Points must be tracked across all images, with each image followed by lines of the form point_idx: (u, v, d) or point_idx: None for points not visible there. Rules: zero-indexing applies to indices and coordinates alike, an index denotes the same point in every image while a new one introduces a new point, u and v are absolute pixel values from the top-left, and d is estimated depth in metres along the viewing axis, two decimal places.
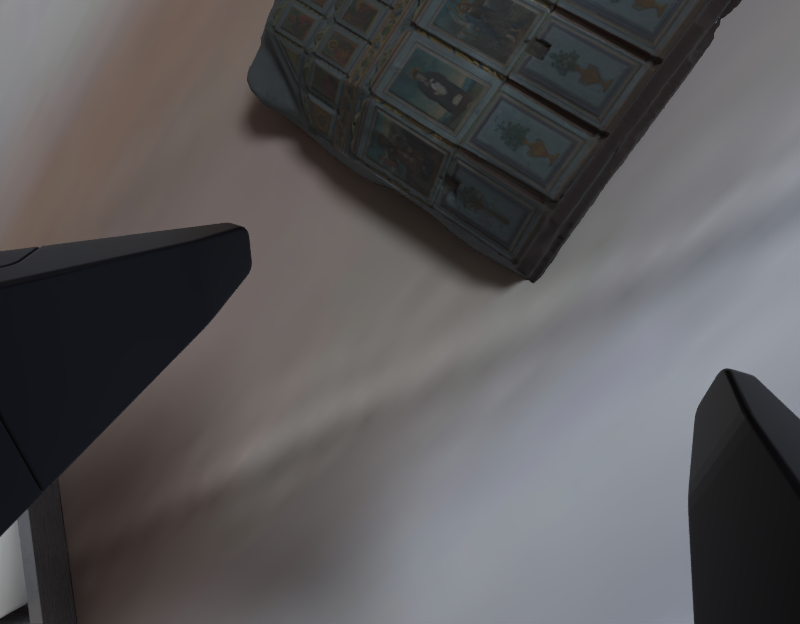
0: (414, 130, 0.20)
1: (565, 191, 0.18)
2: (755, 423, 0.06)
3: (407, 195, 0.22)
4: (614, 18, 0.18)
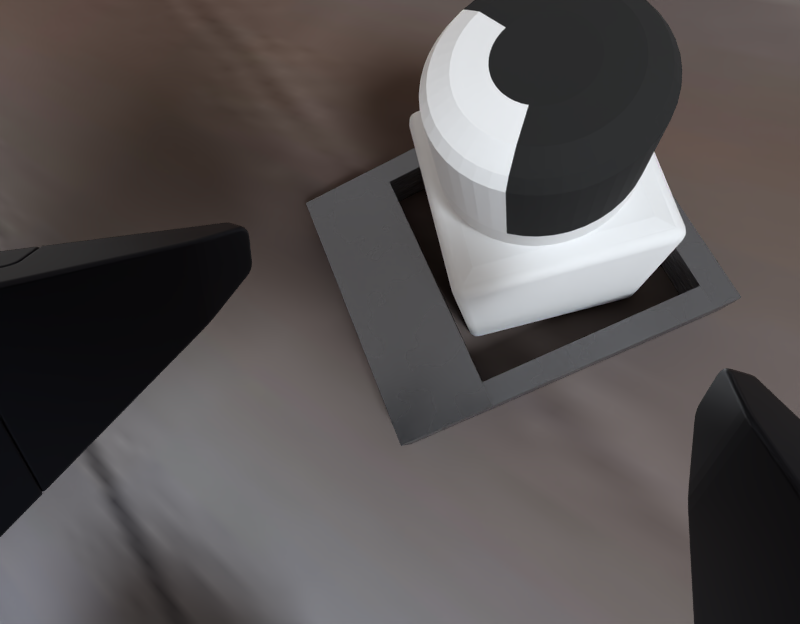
0: None
1: None
2: (755, 423, 0.06)
3: None
4: None
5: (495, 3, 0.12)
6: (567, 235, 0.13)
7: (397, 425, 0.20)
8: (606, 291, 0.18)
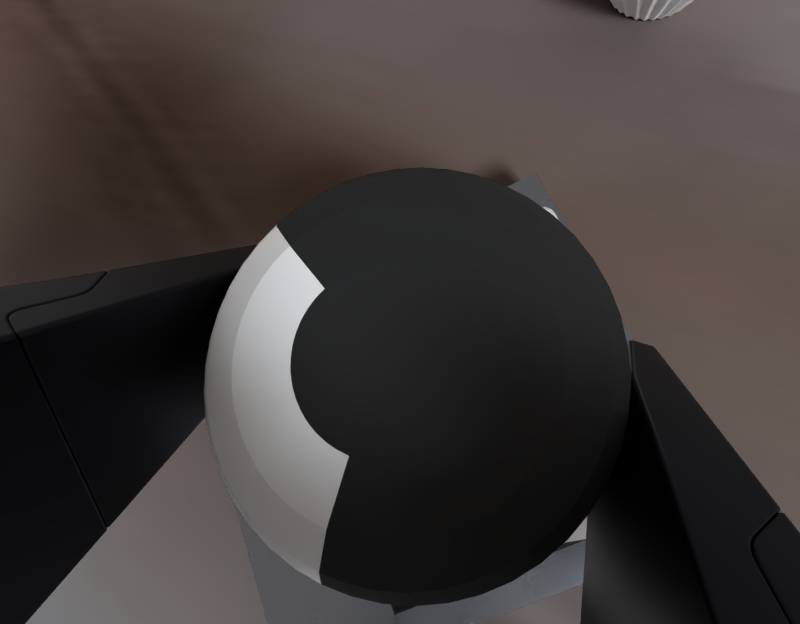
0: None
1: None
2: (637, 386, 0.06)
3: None
4: None
5: (316, 233, 0.07)
6: None
7: None
8: None
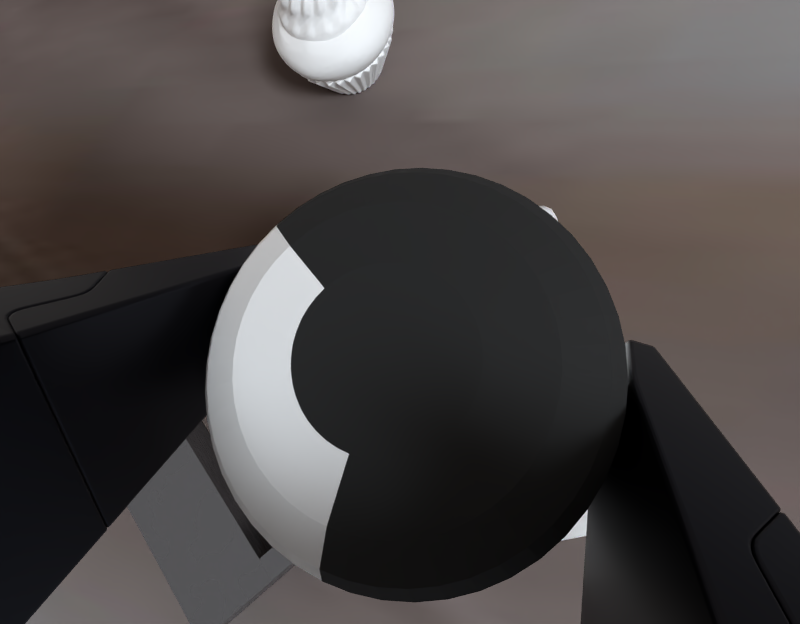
0: None
1: None
2: (637, 386, 0.06)
3: None
4: None
5: (316, 234, 0.07)
6: None
7: (193, 623, 0.20)
8: None
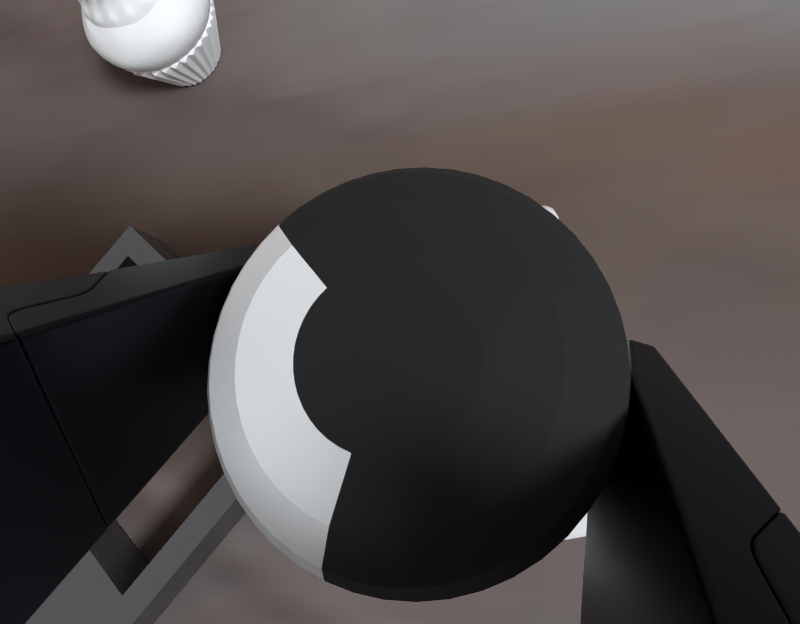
0: None
1: None
2: (637, 386, 0.06)
3: None
4: None
5: (318, 233, 0.07)
6: None
7: None
8: None
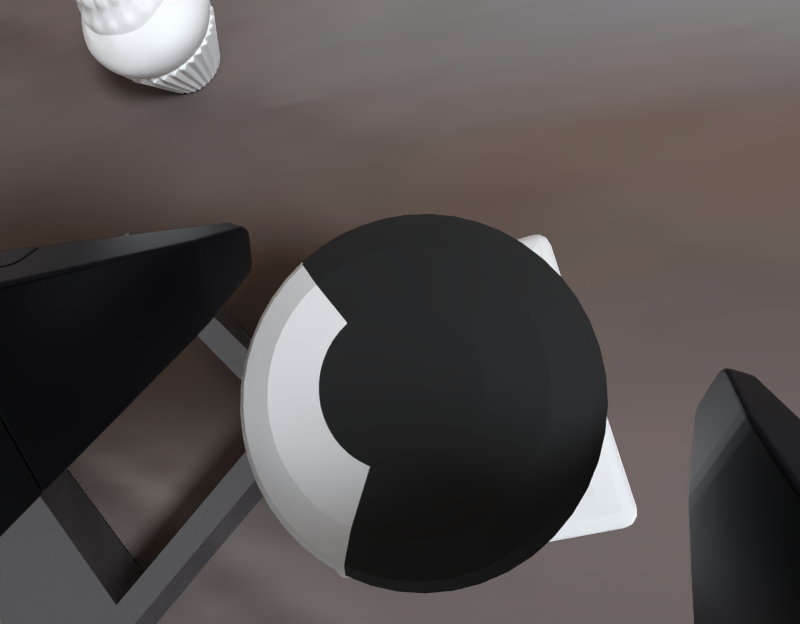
0: None
1: None
2: (755, 423, 0.06)
3: None
4: None
5: (339, 275, 0.08)
6: None
7: None
8: None
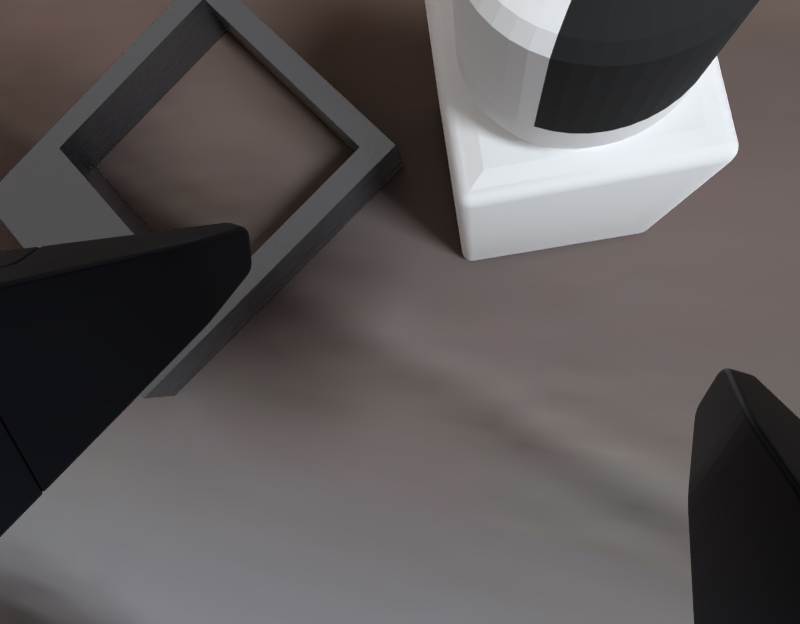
0: None
1: None
2: (755, 423, 0.06)
3: None
4: None
5: None
6: (605, 136, 0.11)
7: None
8: (622, 220, 0.16)
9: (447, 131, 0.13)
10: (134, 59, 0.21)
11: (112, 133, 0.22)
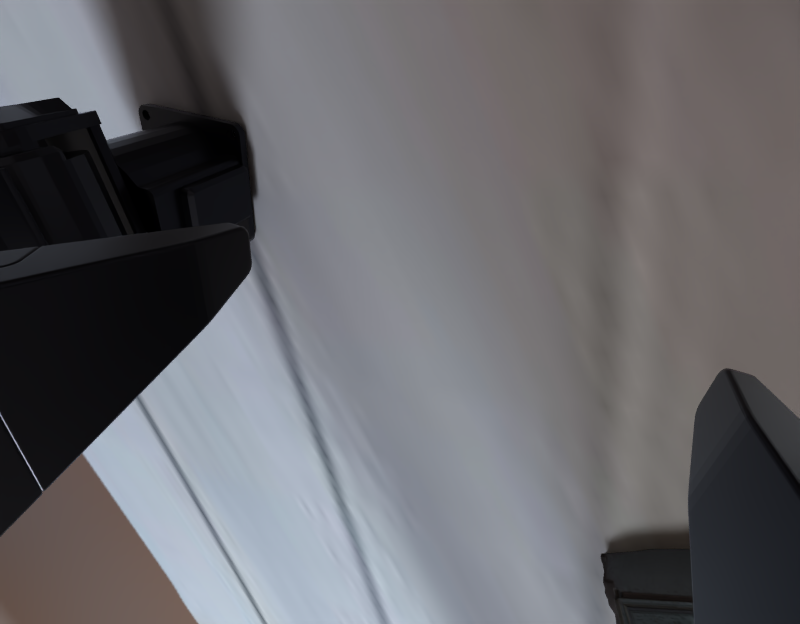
0: None
1: None
2: (755, 423, 0.06)
3: None
4: None
5: None
6: None
7: None
8: None
9: None
10: None
11: None
